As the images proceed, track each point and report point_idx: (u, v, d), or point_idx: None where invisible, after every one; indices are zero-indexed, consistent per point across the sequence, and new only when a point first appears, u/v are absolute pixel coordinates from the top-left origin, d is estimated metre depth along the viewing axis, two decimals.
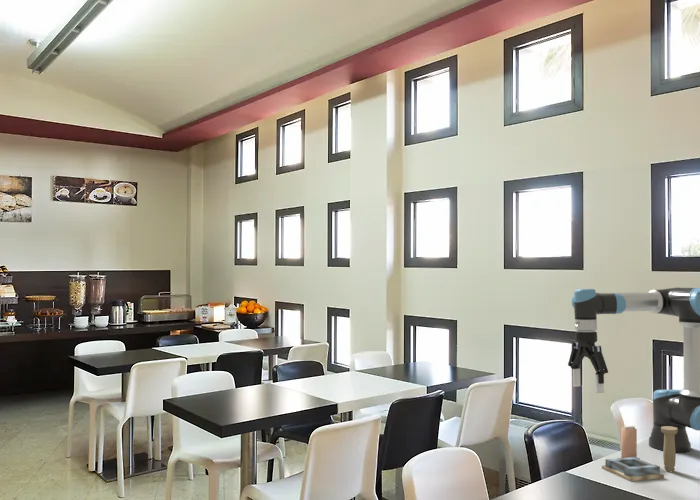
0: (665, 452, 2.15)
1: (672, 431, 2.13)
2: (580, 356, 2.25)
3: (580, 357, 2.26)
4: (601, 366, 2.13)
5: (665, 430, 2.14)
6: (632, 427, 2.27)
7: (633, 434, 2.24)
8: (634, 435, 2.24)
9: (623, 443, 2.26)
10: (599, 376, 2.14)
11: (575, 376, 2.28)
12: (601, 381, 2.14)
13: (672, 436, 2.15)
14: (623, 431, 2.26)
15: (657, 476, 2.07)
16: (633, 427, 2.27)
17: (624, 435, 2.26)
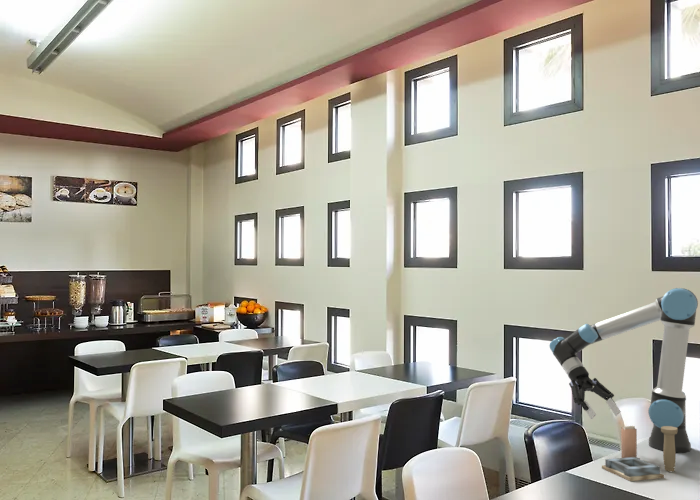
0: (665, 452, 2.15)
1: (672, 431, 2.13)
2: (594, 390, 2.46)
3: (595, 391, 2.45)
4: (573, 397, 2.39)
5: (665, 430, 2.14)
6: (632, 427, 2.27)
7: (633, 434, 2.24)
8: (634, 435, 2.24)
9: (623, 443, 2.26)
10: None
11: (610, 406, 2.42)
12: (584, 408, 2.36)
13: (672, 436, 2.15)
14: (623, 431, 2.26)
15: (657, 476, 2.07)
16: (633, 427, 2.27)
17: (624, 435, 2.26)
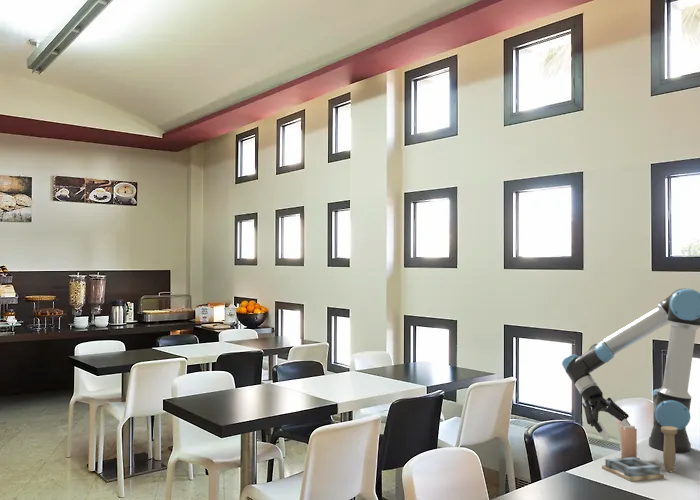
0: (665, 452, 2.15)
1: (672, 431, 2.14)
2: (608, 410, 2.39)
3: (609, 411, 2.38)
4: (587, 418, 2.32)
5: (665, 430, 2.14)
6: (632, 427, 2.27)
7: (633, 434, 2.24)
8: (634, 435, 2.24)
9: (623, 443, 2.26)
10: None
11: None
12: (597, 430, 2.29)
13: (672, 436, 2.15)
14: (623, 431, 2.26)
15: (657, 476, 2.07)
16: (633, 427, 2.27)
17: (624, 435, 2.26)
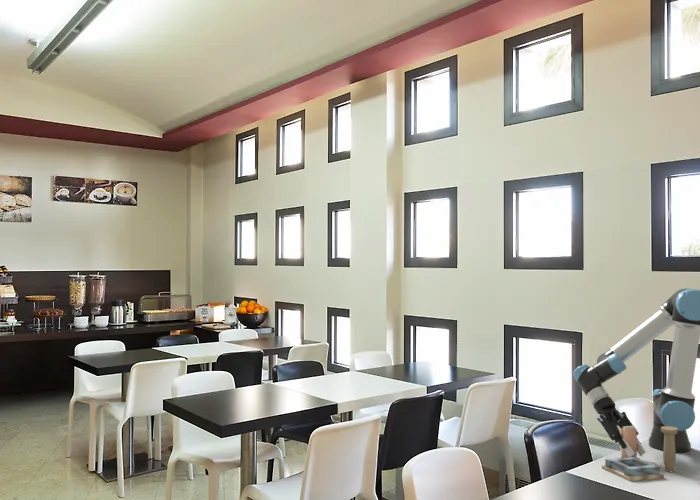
0: (665, 452, 2.15)
1: (672, 431, 2.13)
2: (618, 423, 2.33)
3: (620, 424, 2.33)
4: (609, 434, 2.27)
5: (665, 430, 2.14)
6: (632, 427, 2.27)
7: (633, 434, 2.24)
8: (634, 435, 2.24)
9: None
10: None
11: None
12: (622, 446, 2.24)
13: (672, 436, 2.15)
14: (623, 431, 2.26)
15: (657, 476, 2.07)
16: (633, 427, 2.27)
17: (624, 435, 2.26)
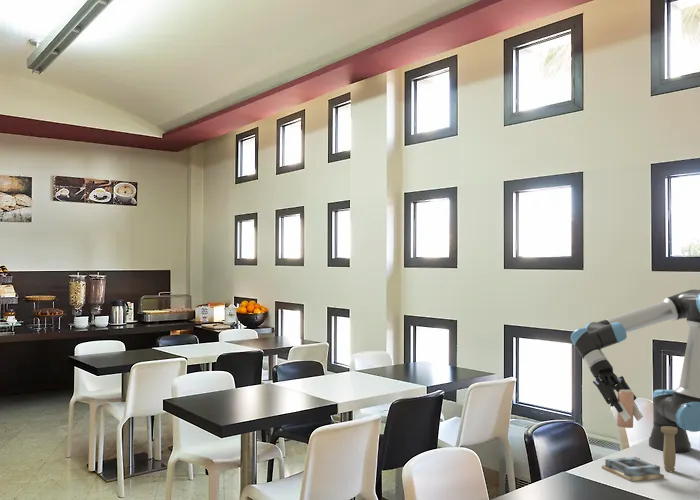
0: (665, 452, 2.15)
1: (672, 431, 2.14)
2: (616, 388, 2.23)
3: (617, 388, 2.23)
4: (605, 398, 2.18)
5: (665, 430, 2.14)
6: (629, 391, 2.17)
7: (630, 398, 2.15)
8: (630, 399, 2.15)
9: None
10: None
11: None
12: (617, 410, 2.15)
13: (672, 436, 2.15)
14: (619, 394, 2.17)
15: (657, 476, 2.07)
16: (630, 390, 2.17)
17: (620, 399, 2.16)
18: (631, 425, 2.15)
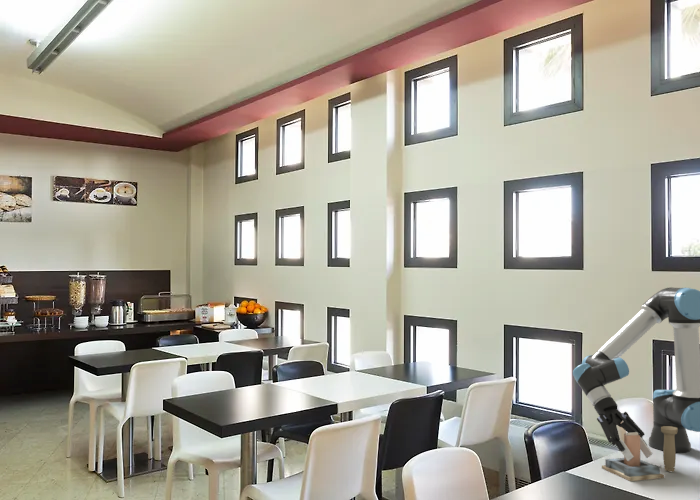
0: (665, 452, 2.15)
1: (672, 431, 2.13)
2: (622, 425, 2.19)
3: (624, 426, 2.19)
4: (607, 436, 2.13)
5: (665, 430, 2.14)
6: (635, 433, 2.13)
7: (636, 441, 2.11)
8: (637, 442, 2.11)
9: None
10: None
11: (641, 447, 2.15)
12: (619, 448, 2.10)
13: (672, 436, 2.15)
14: (626, 438, 2.12)
15: (657, 476, 2.07)
16: (637, 433, 2.13)
17: (627, 442, 2.12)
18: None
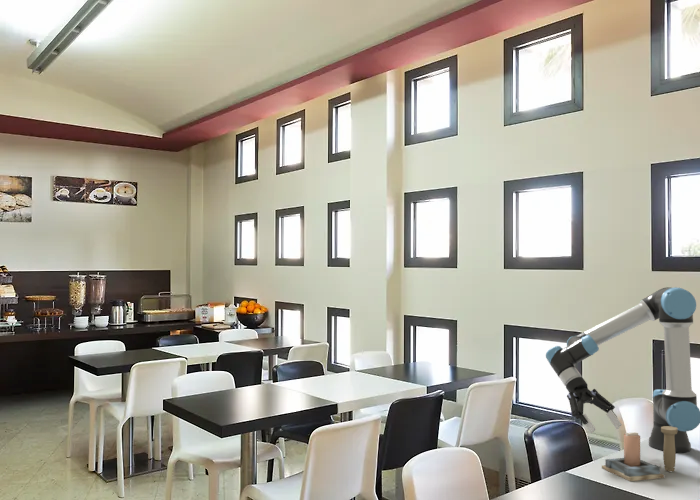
0: (665, 452, 2.15)
1: (672, 431, 2.13)
2: (593, 402, 2.33)
3: (595, 402, 2.33)
4: (572, 410, 2.26)
5: (665, 430, 2.14)
6: (635, 434, 2.13)
7: (636, 441, 2.11)
8: (637, 442, 2.11)
9: (626, 451, 2.12)
10: None
11: (611, 419, 2.29)
12: (583, 422, 2.23)
13: (672, 436, 2.15)
14: (626, 438, 2.12)
15: (657, 476, 2.07)
16: (637, 433, 2.13)
17: (627, 442, 2.12)
18: None
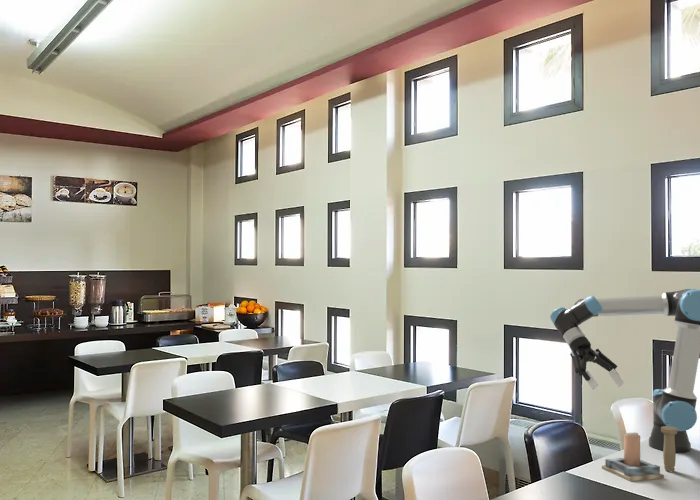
0: (665, 452, 2.15)
1: (672, 431, 2.13)
2: (596, 361, 2.37)
3: (597, 361, 2.36)
4: (575, 367, 2.30)
5: (665, 430, 2.14)
6: (635, 434, 2.13)
7: (636, 441, 2.11)
8: (637, 442, 2.11)
9: (626, 451, 2.12)
10: None
11: (613, 377, 2.33)
12: (585, 378, 2.27)
13: (672, 436, 2.15)
14: (626, 438, 2.12)
15: (657, 476, 2.07)
16: (637, 433, 2.13)
17: (627, 442, 2.12)
18: None
